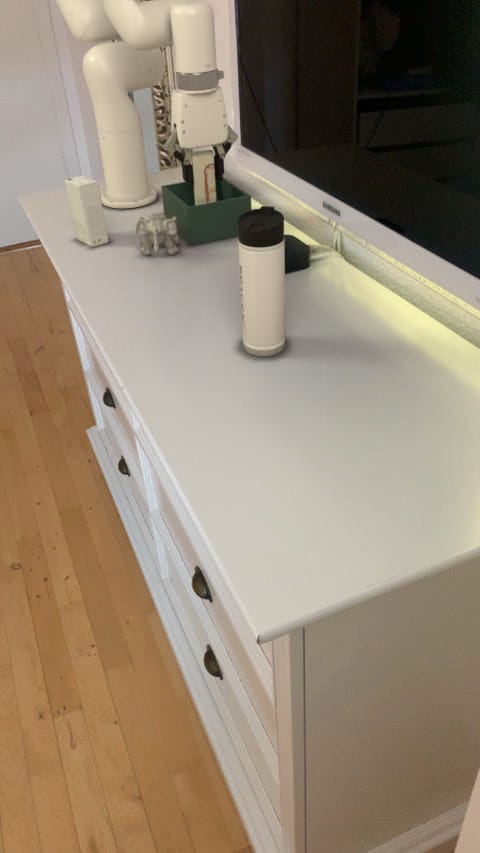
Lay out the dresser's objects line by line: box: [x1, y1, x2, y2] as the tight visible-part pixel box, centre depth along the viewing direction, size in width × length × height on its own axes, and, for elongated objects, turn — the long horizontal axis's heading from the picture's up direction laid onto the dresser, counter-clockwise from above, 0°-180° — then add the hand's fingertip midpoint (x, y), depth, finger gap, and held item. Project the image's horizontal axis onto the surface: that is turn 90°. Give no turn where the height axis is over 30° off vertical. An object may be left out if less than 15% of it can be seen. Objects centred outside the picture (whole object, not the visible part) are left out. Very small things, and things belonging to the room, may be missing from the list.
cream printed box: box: [190, 149, 217, 206], centre depth 138 cm, size 5×4×10 cm
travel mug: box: [237, 205, 286, 357], centre depth 98 cm, size 6×7×20 cm
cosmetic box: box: [64, 175, 110, 248], centre depth 137 cm, size 6×4×12 cm
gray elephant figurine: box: [135, 212, 181, 256], centre depth 131 cm, size 9×12×8 cm
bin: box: [160, 176, 252, 247], centre depth 142 cm, size 15×13×8 cm
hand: (204, 180), depth 138 cm, fingers closed on cream printed box, 5 cm apart
